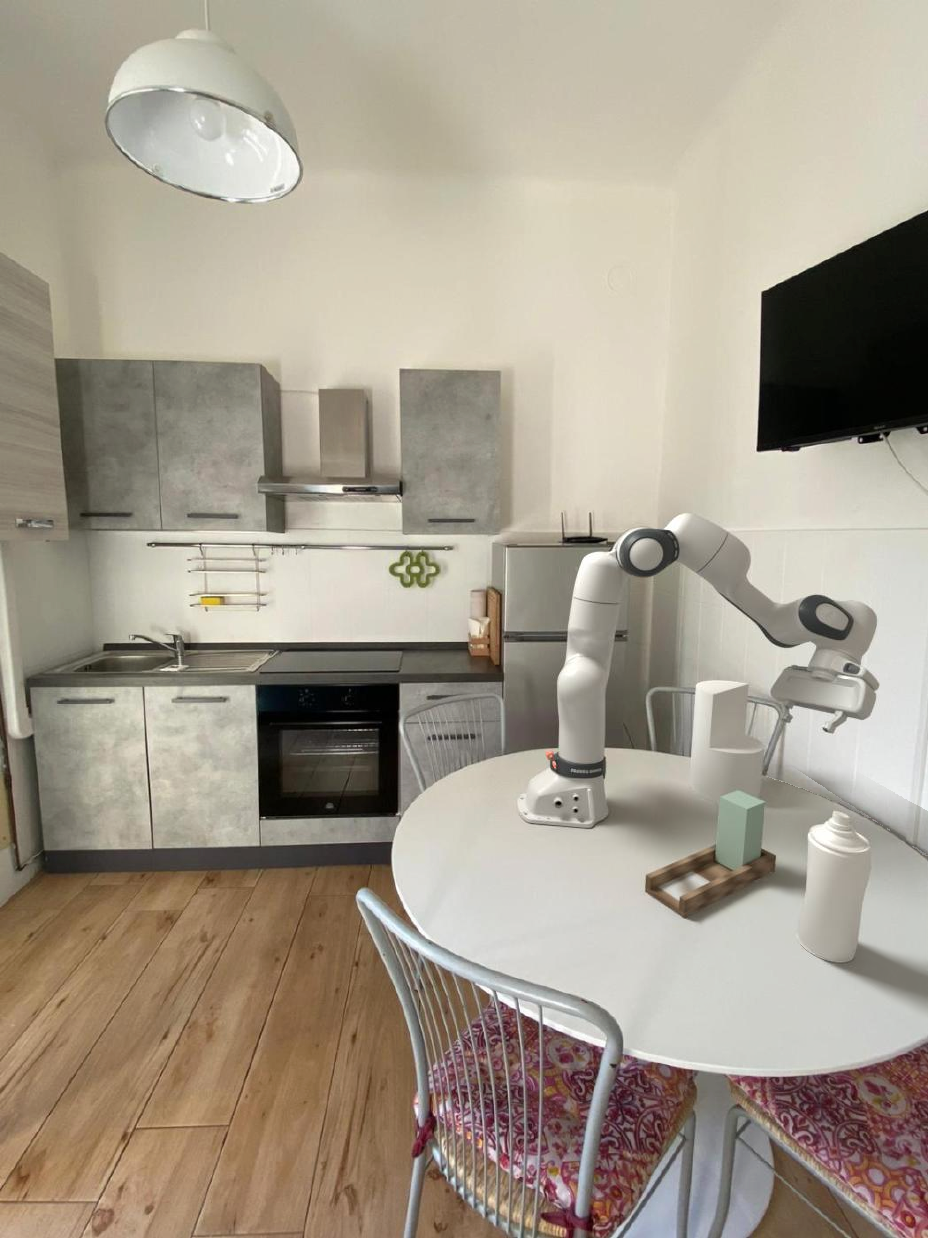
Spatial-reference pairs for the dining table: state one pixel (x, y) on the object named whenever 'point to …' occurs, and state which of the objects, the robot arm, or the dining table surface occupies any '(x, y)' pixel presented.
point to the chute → (703, 880)
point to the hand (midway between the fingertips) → (805, 726)
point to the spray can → (834, 889)
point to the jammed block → (739, 829)
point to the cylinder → (723, 742)
